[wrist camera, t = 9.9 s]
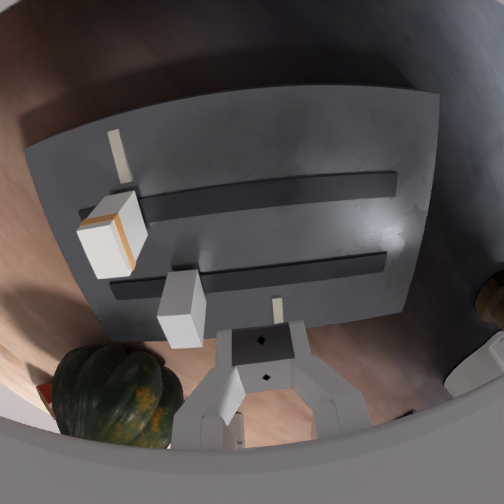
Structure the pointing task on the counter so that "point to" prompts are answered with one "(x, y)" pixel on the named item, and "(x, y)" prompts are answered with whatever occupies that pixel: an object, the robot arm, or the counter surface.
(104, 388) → the squash
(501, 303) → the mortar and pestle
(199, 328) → the block
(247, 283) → the console
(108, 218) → the block
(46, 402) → the fruit slice
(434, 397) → the counter surface
